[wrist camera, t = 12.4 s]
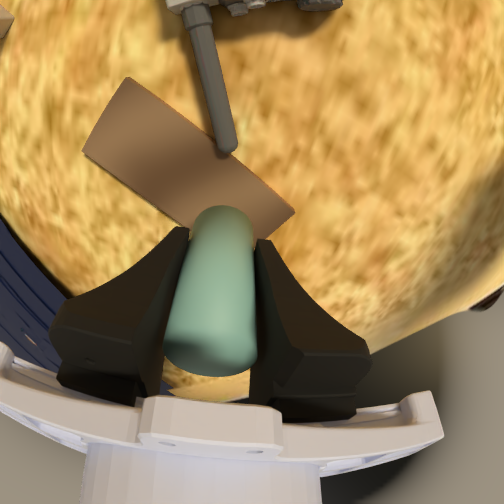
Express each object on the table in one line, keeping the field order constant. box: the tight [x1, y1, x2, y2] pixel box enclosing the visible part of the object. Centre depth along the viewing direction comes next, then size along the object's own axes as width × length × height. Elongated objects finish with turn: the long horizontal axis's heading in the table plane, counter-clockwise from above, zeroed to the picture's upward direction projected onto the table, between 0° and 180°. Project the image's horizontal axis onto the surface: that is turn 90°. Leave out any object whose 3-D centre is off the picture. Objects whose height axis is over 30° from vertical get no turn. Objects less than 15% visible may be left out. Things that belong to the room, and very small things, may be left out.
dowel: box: [162, 205, 258, 377], centre depth 11 cm, size 3×3×7 cm
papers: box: [0, 219, 175, 396], centre depth 23 cm, size 24×30×4 cm
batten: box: [82, 77, 295, 248], centre depth 15 cm, size 12×5×1 cm, turn 47°
